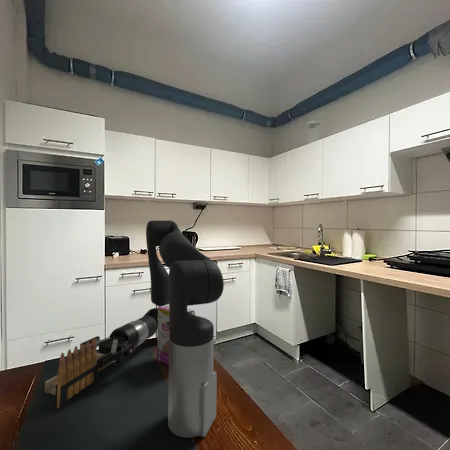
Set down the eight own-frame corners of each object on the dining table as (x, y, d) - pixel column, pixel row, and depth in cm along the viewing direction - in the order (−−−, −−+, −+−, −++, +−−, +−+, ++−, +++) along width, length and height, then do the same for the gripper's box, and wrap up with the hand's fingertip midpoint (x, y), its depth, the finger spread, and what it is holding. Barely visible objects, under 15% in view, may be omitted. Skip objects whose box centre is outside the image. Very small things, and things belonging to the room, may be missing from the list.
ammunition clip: (60, 410, 56) (61, 355, 56) (54, 408, 57) (55, 353, 57) (98, 383, 66) (99, 336, 66) (92, 381, 67) (93, 335, 67)
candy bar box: (155, 361, 77) (156, 307, 78) (167, 355, 81) (168, 303, 82) (183, 373, 71) (184, 313, 72) (195, 365, 75) (195, 309, 76)
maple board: (110, 363, 76) (111, 355, 76) (59, 396, 61) (59, 385, 61) (97, 360, 77) (97, 352, 77) (44, 391, 62) (45, 381, 62)
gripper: (111, 320, 81) (63, 341, 65) (149, 326, 76) (107, 350, 61) (111, 344, 81) (63, 371, 65) (149, 352, 76) (106, 382, 60)
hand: (84, 361), depth 63 cm, fingers open, 8 cm apart
